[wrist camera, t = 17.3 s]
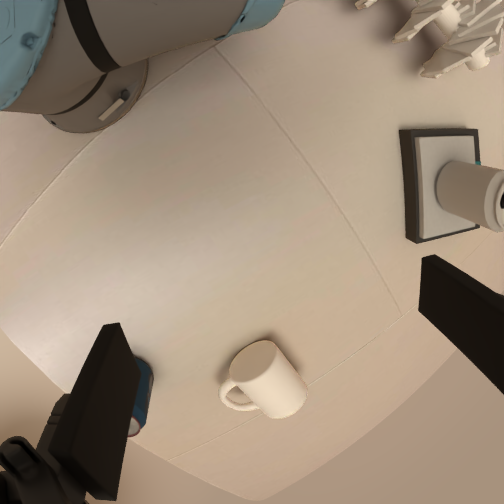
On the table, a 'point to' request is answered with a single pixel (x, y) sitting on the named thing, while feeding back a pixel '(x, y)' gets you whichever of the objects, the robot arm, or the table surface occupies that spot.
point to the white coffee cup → (265, 381)
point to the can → (473, 193)
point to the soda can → (141, 399)
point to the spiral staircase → (456, 32)
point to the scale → (433, 179)
